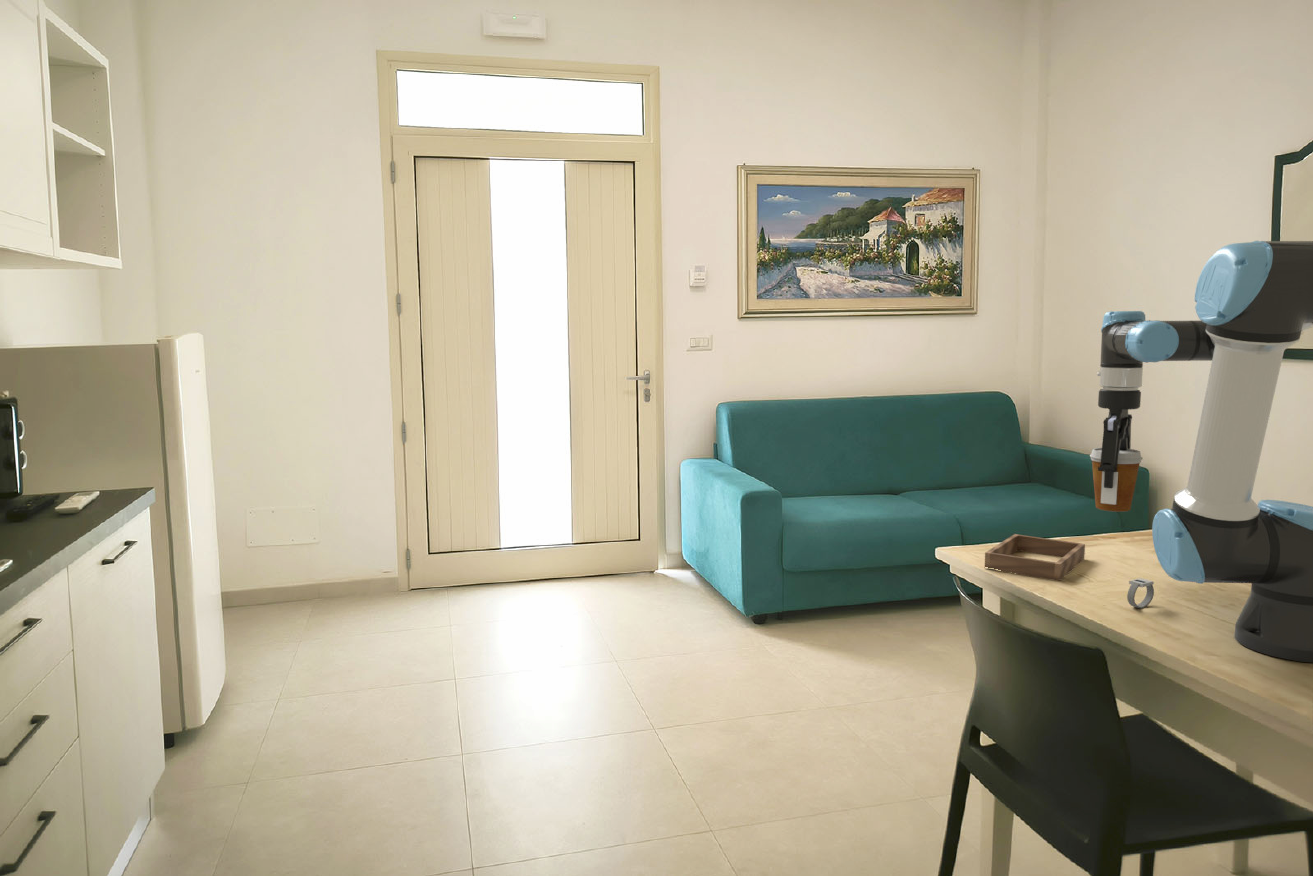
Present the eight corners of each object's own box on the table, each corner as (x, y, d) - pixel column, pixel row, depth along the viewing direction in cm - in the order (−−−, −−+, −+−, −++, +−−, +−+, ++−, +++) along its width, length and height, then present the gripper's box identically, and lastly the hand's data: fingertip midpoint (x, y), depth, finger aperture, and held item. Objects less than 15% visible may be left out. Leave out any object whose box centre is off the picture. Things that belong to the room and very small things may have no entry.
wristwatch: (1142, 602, 165) (1144, 576, 165) (1157, 606, 163) (1158, 580, 162) (1122, 607, 162) (1123, 581, 162) (1136, 612, 160) (1138, 585, 159)
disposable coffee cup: (1134, 515, 174) (1138, 455, 172) (1082, 510, 179) (1085, 451, 178) (1143, 507, 181) (1146, 449, 179) (1092, 502, 187) (1095, 445, 185)
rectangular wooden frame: (1059, 581, 179) (1060, 564, 178) (984, 568, 188) (985, 552, 188) (1084, 559, 194) (1085, 543, 194) (1013, 548, 204) (1014, 534, 203)
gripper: (1111, 384, 187) (1105, 490, 190) (1086, 391, 171) (1080, 506, 174) (1151, 386, 183) (1144, 493, 186) (1129, 392, 166) (1122, 511, 169)
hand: (1113, 499), depth 180 cm, fingers closed on disposable coffee cup, 8 cm apart
